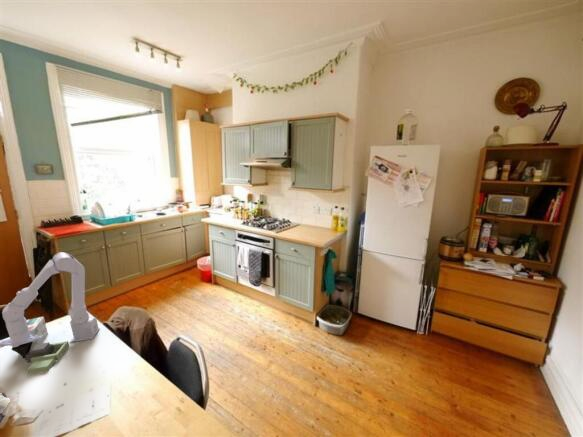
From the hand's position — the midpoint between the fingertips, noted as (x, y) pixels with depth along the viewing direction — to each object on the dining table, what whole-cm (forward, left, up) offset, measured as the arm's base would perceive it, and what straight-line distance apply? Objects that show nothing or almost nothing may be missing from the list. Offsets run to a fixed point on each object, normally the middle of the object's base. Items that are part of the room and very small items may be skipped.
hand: (26, 356), depth 110 cm
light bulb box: (+3, -11, -2) cm, 12 cm away
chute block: (-5, 0, -1) cm, 5 cm away
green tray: (-9, +3, -1) cm, 9 cm away
